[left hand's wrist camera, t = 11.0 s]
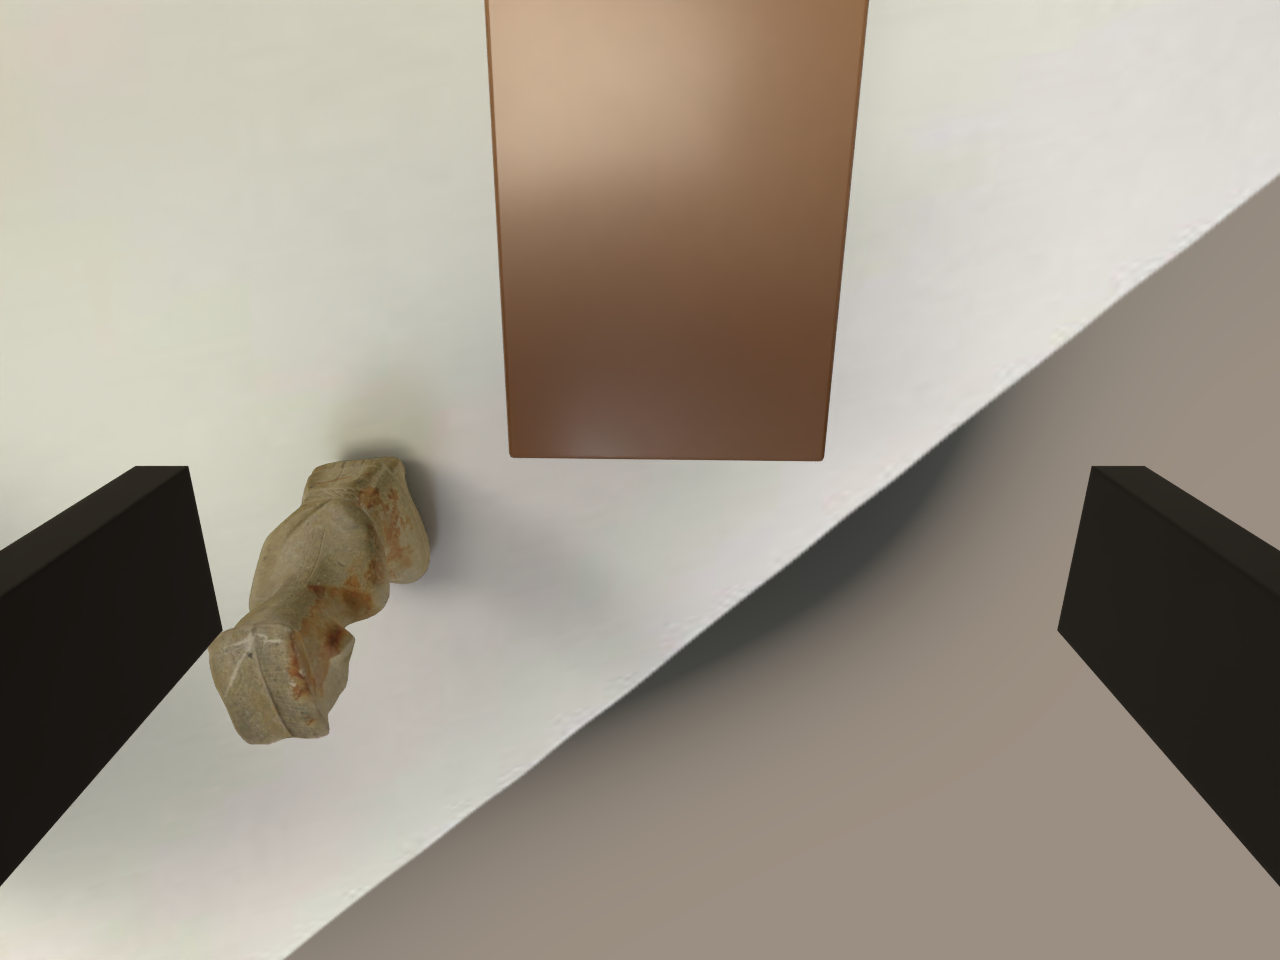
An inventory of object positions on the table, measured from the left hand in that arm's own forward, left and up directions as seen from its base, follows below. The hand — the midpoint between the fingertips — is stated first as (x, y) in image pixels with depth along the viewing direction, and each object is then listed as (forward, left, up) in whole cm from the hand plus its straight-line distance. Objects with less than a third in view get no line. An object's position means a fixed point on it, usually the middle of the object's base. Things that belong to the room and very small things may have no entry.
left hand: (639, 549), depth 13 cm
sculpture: (-18, +1, -29) cm, 34 cm away
